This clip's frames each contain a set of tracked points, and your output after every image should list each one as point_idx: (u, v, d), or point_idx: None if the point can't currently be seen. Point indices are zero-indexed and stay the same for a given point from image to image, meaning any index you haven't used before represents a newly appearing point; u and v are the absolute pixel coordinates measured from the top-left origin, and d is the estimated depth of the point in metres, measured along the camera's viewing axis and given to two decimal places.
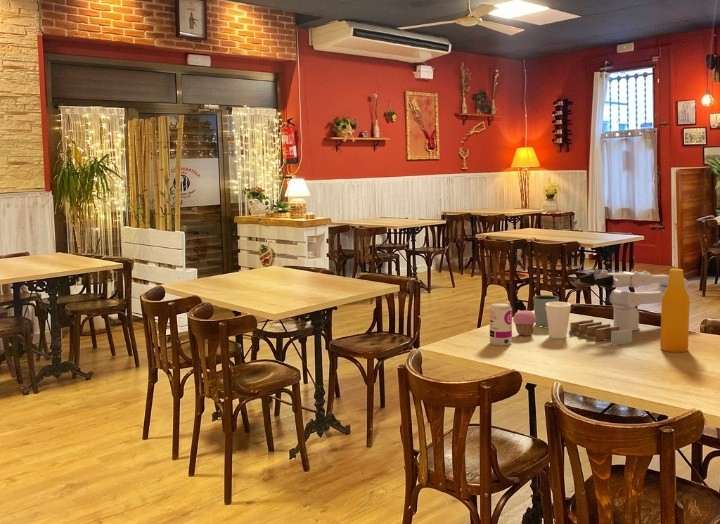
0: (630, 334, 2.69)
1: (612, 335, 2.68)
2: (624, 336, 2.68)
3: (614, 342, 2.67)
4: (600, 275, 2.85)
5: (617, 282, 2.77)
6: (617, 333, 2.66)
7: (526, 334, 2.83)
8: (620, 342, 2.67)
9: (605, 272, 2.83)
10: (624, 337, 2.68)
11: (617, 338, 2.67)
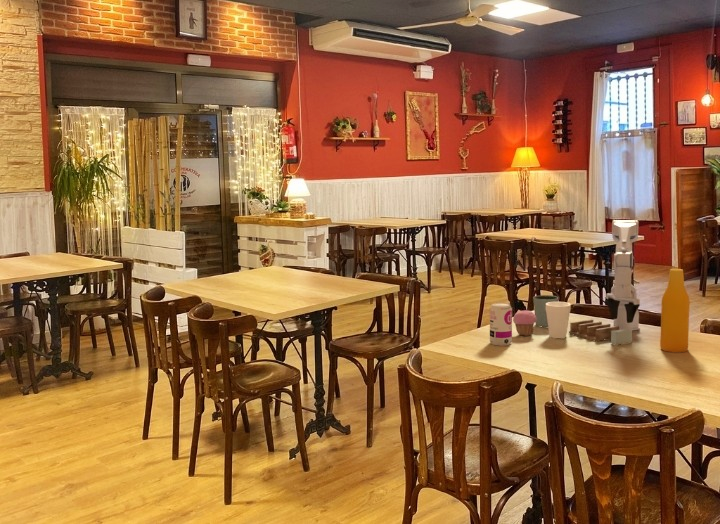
0: (630, 334, 2.69)
1: (612, 335, 2.68)
2: (624, 336, 2.68)
3: (614, 342, 2.67)
4: None
5: (637, 302, 2.61)
6: (617, 333, 2.66)
7: (526, 334, 2.83)
8: (620, 342, 2.67)
9: (617, 299, 2.65)
10: (624, 337, 2.68)
11: (617, 338, 2.67)
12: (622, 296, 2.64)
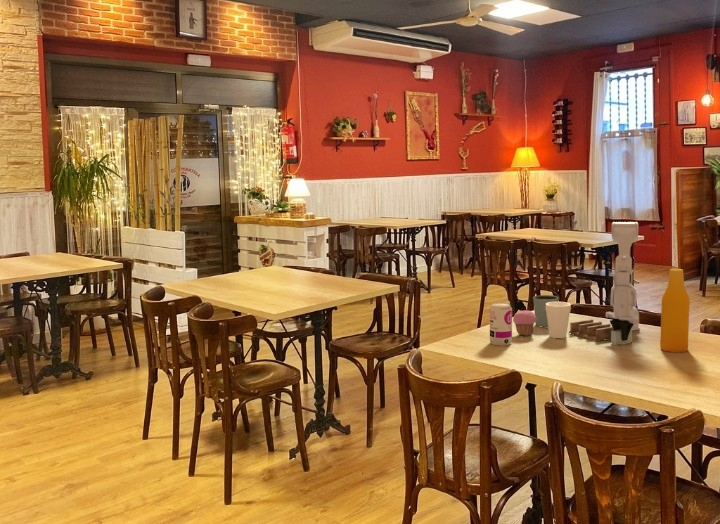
0: (630, 334, 2.69)
1: (612, 334, 2.68)
2: None
3: (614, 342, 2.67)
4: None
5: (637, 321, 2.62)
6: (617, 333, 2.66)
7: (526, 334, 2.83)
8: (620, 342, 2.67)
9: None
10: None
11: (617, 338, 2.67)
12: (622, 315, 2.65)
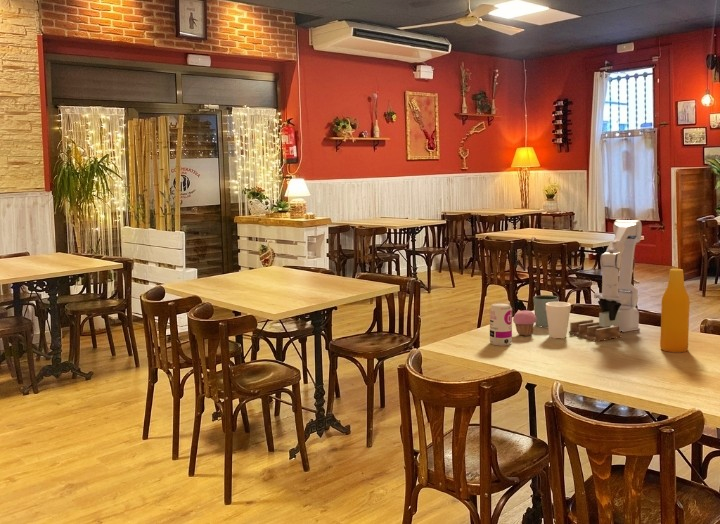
0: (618, 316, 2.74)
1: (600, 316, 2.72)
2: None
3: (602, 323, 2.72)
4: None
5: (624, 301, 2.66)
6: (605, 314, 2.71)
7: (526, 334, 2.83)
8: (608, 323, 2.72)
9: (604, 298, 2.71)
10: None
11: (605, 319, 2.71)
12: (609, 295, 2.70)
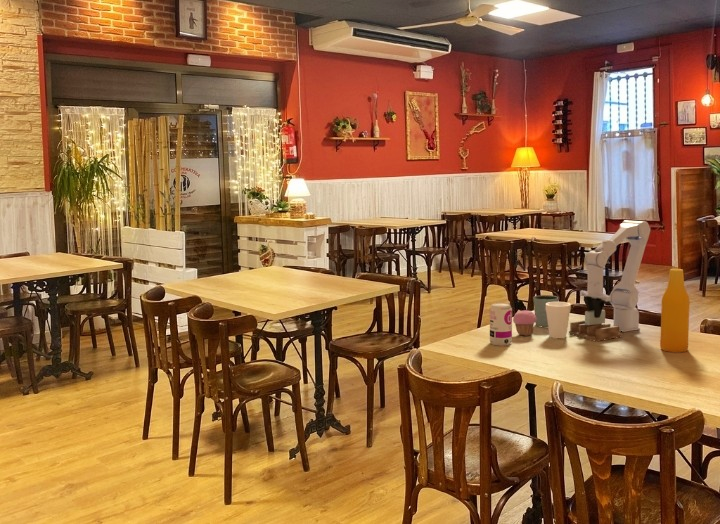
0: (603, 314, 2.81)
1: (586, 315, 2.80)
2: None
3: (588, 322, 2.79)
4: None
5: (608, 298, 2.73)
6: (590, 313, 2.78)
7: (526, 334, 2.83)
8: (593, 322, 2.79)
9: (589, 296, 2.78)
10: None
11: (590, 318, 2.78)
12: (594, 293, 2.77)
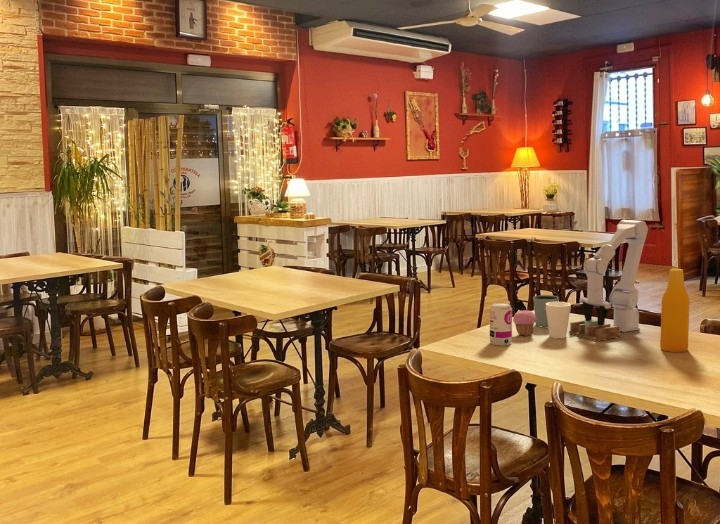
0: None
1: (586, 324, 2.80)
2: None
3: None
4: None
5: (608, 306, 2.74)
6: (590, 323, 2.79)
7: (526, 334, 2.83)
8: None
9: (589, 303, 2.78)
10: None
11: None
12: (594, 300, 2.77)
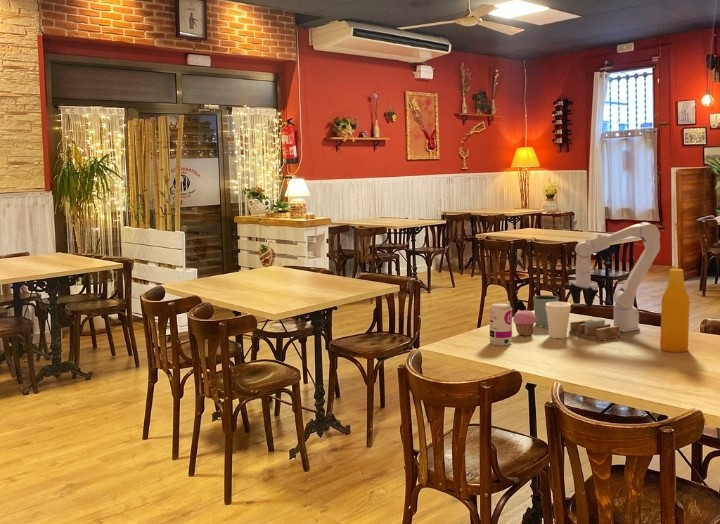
0: None
1: (586, 324, 2.80)
2: None
3: None
4: None
5: (596, 287, 2.84)
6: (590, 323, 2.79)
7: (526, 334, 2.83)
8: None
9: (577, 285, 2.89)
10: None
11: None
12: (582, 282, 2.88)
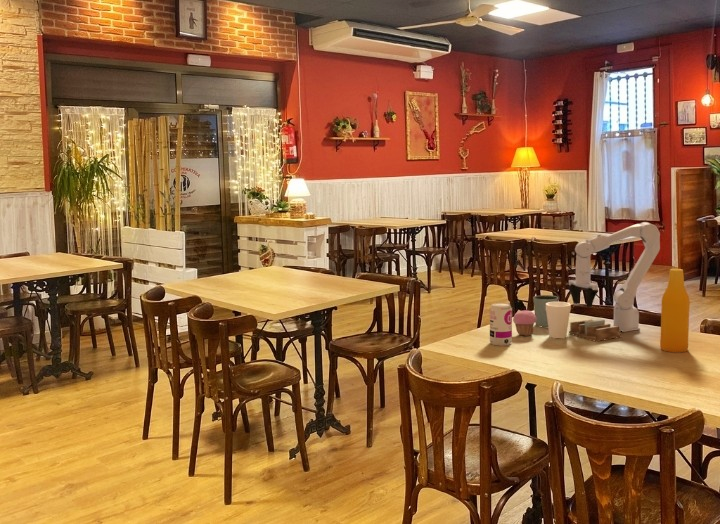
0: None
1: (586, 324, 2.80)
2: None
3: None
4: None
5: (595, 287, 2.84)
6: (590, 323, 2.79)
7: (526, 334, 2.83)
8: None
9: (577, 285, 2.89)
10: None
11: None
12: (582, 282, 2.88)
